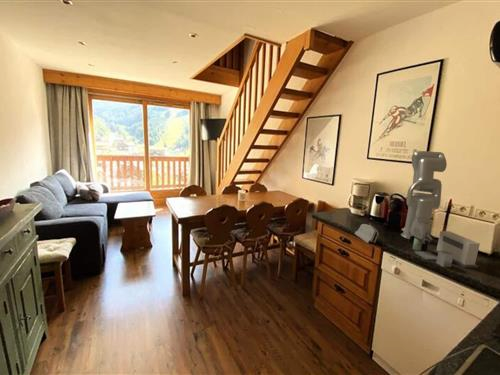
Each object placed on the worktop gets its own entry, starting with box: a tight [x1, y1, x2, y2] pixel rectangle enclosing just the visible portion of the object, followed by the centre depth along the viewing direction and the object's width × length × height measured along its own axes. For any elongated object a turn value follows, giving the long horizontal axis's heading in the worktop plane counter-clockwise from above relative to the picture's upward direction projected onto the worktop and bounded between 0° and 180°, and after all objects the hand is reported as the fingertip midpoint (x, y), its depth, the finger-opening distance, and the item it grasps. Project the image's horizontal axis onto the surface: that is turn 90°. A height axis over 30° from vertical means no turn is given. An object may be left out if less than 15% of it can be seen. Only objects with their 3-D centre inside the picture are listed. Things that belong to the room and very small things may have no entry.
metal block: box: [435, 251, 453, 268], centre depth 131 cm, size 4×4×7 cm
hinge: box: [354, 223, 379, 244], centre depth 164 cm, size 17×5×10 cm, turn 6°
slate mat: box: [414, 250, 438, 261], centre depth 141 cm, size 9×9×1 cm
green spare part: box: [412, 237, 423, 251], centre depth 150 cm, size 4×4×7 cm
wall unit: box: [432, 230, 481, 269], centre depth 138 cm, size 20×8×13 cm, turn 5°
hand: (417, 246), depth 150 cm, fingers open, 9 cm apart
